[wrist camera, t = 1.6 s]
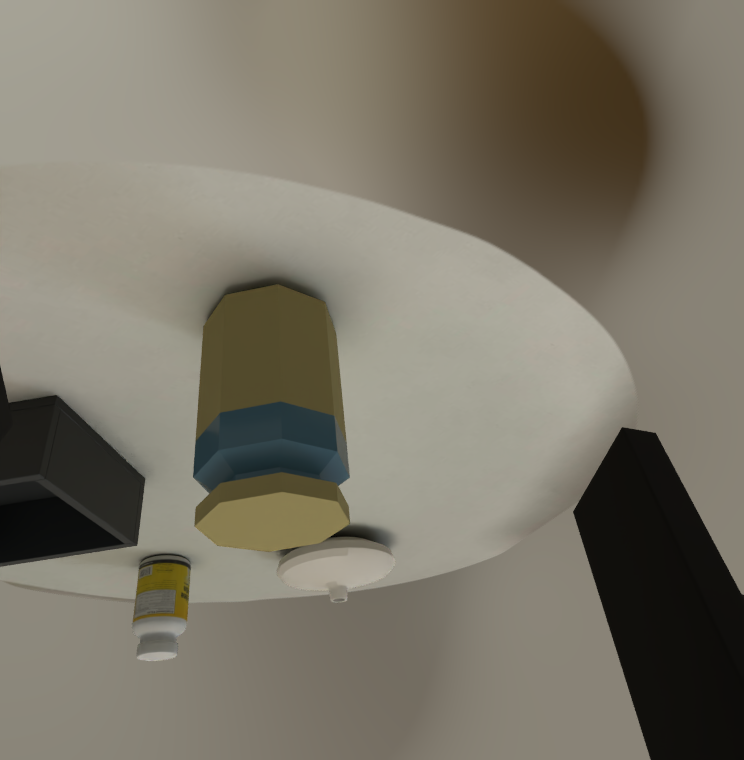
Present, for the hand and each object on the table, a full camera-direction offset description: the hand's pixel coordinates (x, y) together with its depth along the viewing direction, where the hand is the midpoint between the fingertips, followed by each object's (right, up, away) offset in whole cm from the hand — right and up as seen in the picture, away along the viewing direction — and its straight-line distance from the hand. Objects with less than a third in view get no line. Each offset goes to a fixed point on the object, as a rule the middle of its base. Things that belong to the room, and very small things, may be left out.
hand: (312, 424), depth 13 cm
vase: (-4, -22, +68) cm, 72 cm away
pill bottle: (-26, -23, +66) cm, 74 cm away
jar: (-6, +5, +29) cm, 30 cm away
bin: (-30, -6, +40) cm, 51 cm away
